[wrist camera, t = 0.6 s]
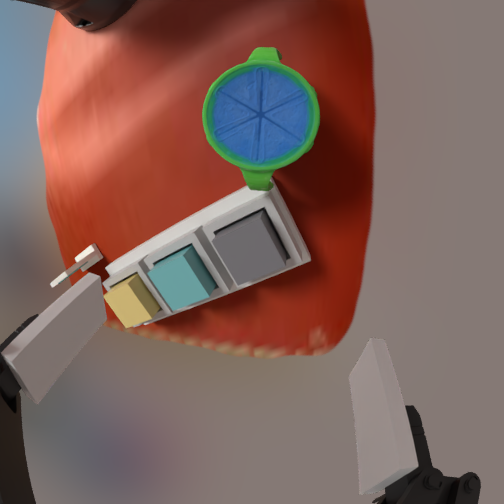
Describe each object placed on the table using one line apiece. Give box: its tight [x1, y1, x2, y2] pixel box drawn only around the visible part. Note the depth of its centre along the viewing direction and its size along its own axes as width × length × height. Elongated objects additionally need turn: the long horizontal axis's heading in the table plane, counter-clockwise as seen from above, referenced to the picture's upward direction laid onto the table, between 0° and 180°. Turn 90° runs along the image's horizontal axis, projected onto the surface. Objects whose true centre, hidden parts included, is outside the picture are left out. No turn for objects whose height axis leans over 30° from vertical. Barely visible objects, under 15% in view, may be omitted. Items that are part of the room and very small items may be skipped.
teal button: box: [147, 244, 217, 311], centre depth 35 cm, size 6×6×4 cm
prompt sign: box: [50, 243, 103, 287], centre depth 39 cm, size 3×6×9 cm, turn 118°
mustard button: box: [103, 272, 161, 328], centre depth 38 cm, size 6×6×4 cm
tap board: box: [102, 177, 311, 327], centre depth 37 cm, size 12×30×5 cm, turn 118°
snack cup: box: [202, 47, 320, 191], centre depth 26 cm, size 16×10×10 cm
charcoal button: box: [212, 209, 287, 286], centre depth 32 cm, size 6×6×4 cm
